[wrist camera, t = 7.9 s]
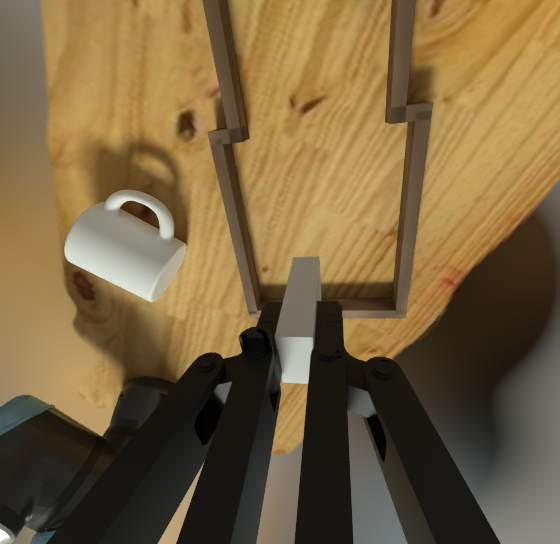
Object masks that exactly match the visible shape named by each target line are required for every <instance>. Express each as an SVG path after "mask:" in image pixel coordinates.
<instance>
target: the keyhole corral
mask: <svg viewBox="0 0 560 544" xmlns="http://www.w3.org/2000/svg"><path fill="white" fill-rule="evenodd" d="M415 1H416V0H392V7H391V25H390V43H389V61H388V79H387V97H386V115H385V122H386V123H389V124H395V123H403V122H408V129H407V140H406V151H405V162H404V172H403V183H402V194H401V205H400V216H399V227H398V238H397V249H396V260H395V271H394V281H393V292H392V298H335V299H321V301H338V302H339V304H340V305H341V307H342V317H343V318H406V311H407V303H408V295H409V288H410V280H411V272H412V264H413V256H414V248H415V240H416V233H417V225H418V217H419V209H420V201H421V193H422V185H423V177H424V170H425V162H426V154H427V146H428V138H429V130H430V122H431V115H432V107H433V102H419V103H411V104H407V93H408V82H409V70H410V59H411V47H412V36H413V24H414V13H415ZM203 5H204V10H205V15H206V21H207V26H208V31H209V36H210V41H211V46H212V51H213V56H214V62H215V67H216V72H217V77H218V82H219V87H220V92H221V97H222V103H223V108H224V113H225V118H226V123H227V128H223V129H216V130H213V131H209V132H208V137H209V141H210V145H211V150H212V154H213V158H214V163H215V167H216V172H217V176H218V180H219V185H220V189H221V193H222V198H223V202H224V207H225V211H226V215H227V220H228V224H229V229H230V233H231V237H232V242H233V246H234V250H235V255H236V259H237V264H238V268H239V272H240V277H241V281H242V285H243V290H244V294H245V299H246V303H247V307H248V312H249V316H250V318H259V317H260V314H261V311H262V308H263V307H264V306H265V305H266V304H267V303H268V302H283V299H261V296H260V291H259V286H258V281H257V275H256V270H255V265H254V260H253V255H252V250H251V245H250V239H249V234H248V229H247V224H246V219H245V214H244V209H243V203H242V198H241V193H240V188H239V183H238V178H237V173H236V167H235V162H234V157H233V152H232V147H231V143H238V142H244V141H246V140H247V139H249V135H248V128H247V122H246V116H245V110H244V104H243V98H242V92H241V86H240V79H239V73H238V67H237V61H236V55H235V49H234V43H233V37H232V30H231V24H230V18H229V12H228V6H227V0H203Z"/></svg>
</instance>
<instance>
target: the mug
mask: <svg viewBox="0 0 560 544" xmlns="http://www.w3.org/2000/svg"><path fill="white" fill-rule="evenodd" d="M126 201H136V202H139V203H141V204H144V205H146V206H148V207H149V208H151V209H152V210H153V211H154V212H155V214H156V215H157V217H158V220H159V225H160V230H159V229H158V228H156V227H154V226H152V225H150V224H148V223H146V222H144V221H143V220H141V219H139V218H137V217H135V216H133V215H131V214H129V213H127V212H126V211H124V210H122V209H120V207H121V206H122V204H123V203H124V202H126ZM186 248H187V246H186V244H185V243H184V242H182V241H180V240H178V239H176V238H175V237H174V221H173V218H172V215H171V213H170V211H169V210H168V209H167V207H166V206H165V205H164V204H163V203H162V202H160V201H159V200H157V199H156V198H154V197H152V196H150V195H148V194H146V193H143V192H140V191H135V190H120V191H117V192H115V193H113V194H112V195H110V196H109V197H108V199H107V200H106V202H100V203H97V204H95V205H93V206H91V207H90V208H88V209H87V210H86V211H85V212H83V213H82V214H81V215H80V217H79V218H78V219H77V220H76V222H75V223H74V224H73V226H72V228H71V229H70V231H69V233H68V236H67V238H66V242H65V247H64V253H65V257H66V259H67V260H68V261H69V262H70V263H72V264H74V265H76V266H79V267H81V268H83V269H85V270H87V271H89V272H91V273H93V274H95V275H97V276H99V277H101V278H103V279H105V280H107V281H109V282H111V283H113V284H115V285H117V286H119V287H121V288H123V289H125V290H127V291H129V292H131V293H133V294H135V295H137V296H140V297H142V298H144V299H146V300H148V301H150V302H153V301H155V300H157V299H158V298H159V297H160V296H161V295H162V294H163V293H164V291H165V290H166V289H167V287H168V286H169V284H170V283H171V281H172V280H173V278H174V276H175V275H176V273H177V271H178V269H179V267H180V265H181V263H182V261H183V259H184V256H185V253H186Z"/></svg>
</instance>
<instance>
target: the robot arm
mask: <svg viewBox="0 0 560 544" xmlns="http://www.w3.org/2000/svg"><path fill="white" fill-rule="evenodd" d="M239 341H240V345H241V348H242V353H241V354H239V355H237V356H233V357H229V358H225V359H223V358H222V356H221V355H220V354H218V353H212V352H210V353H206V354H203V355H201V356H199V357H198V358H197V359H196V360H195V361H194V362H193V363H192V364H191V366H190V367H189V368H188V369H187V371H186V372H185V373H184V374H183V375H182V377H181V378H180V379H179V380H178V382H177V383H176V384H173V383H171V382H169V381H166V380H163V379H160V378H156V377H147V376H144V377H137V378H133V379H131V380H130V381H129V382H128V383H127V384H126V385H125V387H124V388H123V389H122V391H121V392H120V394H119V397H118V401H117V404H116V407H115V410H114V413H113V416H112V419H111V422H110V426H109V427H108V429H107V430H106V432H105V433H104V435H103V436H99V435H98V434H97V433H95V432H94V431H92V430H90V429H88V428H87V427H85V426H84V425H82V424H80V423H79V422H77V421H75V420H74V419H72V418H71V417H69V416H67V415H66V414H64V413H63V412H61V411H60V410H58V409H56V408H55V406H54V405H49V404H47V403H45V402H43V401H41V400H39V399H38V398H36V397H34V396H31V395H21V396H17V397H15V398H13V399H11V400H10V401H8V402H7V403H5V404H4V405H3V406H1V407H0V544H11V543H12V542H13V541H14V539H15V538H16V537H17V535H18V534H19V532H20V531H21V530H22V528H23V527H24V526H25V527H28V528H30V529H33V530H35V531H36V532H37V533H36V534H35V535H34V536H33V537H32V541H31V543H30V544H158V542H159V540H160V538H161V537H162V535H163V533H164V531H165V530H166V528H167V526H168V524H169V522H170V521H171V519H172V517H173V516H174V514H175V512H176V510H177V508H178V507H179V505H180V503H181V502H182V500H183V498H184V496H185V495H186V493H187V491H188V489H189V487H190V486H191V484H192V482H193V481H194V479H195V477H196V475H197V473H198V472H199V470H200V468H201V466H202V465H203V463H204V465H203V468H202V471H201V474H200V476H199V480H198V482H197V485H196V488H195V491H194V494H193V497H192V499H191V502H190V505H189V508H188V511H187V514H186V517H185V520H184V523H183V526H182V528H181V531H180V534H179V537H178V540H177V543H176V544H256V540H257V535H258V529H259V523H260V517H261V511H262V505H263V499H264V492H265V487H266V481H267V475H268V469H269V463H270V457H271V451H272V445H273V439H274V433H275V427H276V421H277V415H278V409H279V403H280V397H281V387H280V381H281V376H282V381H283V382H284V383H304V384H308V392H307V404H306V415H305V427H304V439H303V450H302V462H301V474H300V485H299V497H298V509H297V521H296V532H295V544H353V528H352V527H353V526H352V506H351V482H350V461H349V441H348V440H349V439H348V417H347V410H349V411H351V412H354V413H357V414H359V415H362V416H363V419H364V422H365V425H366V427H367V430H368V433H369V435H370V439H371V441H372V444H373V447H374V450H375V452H376V456H377V458H378V461H379V464H380V467H381V470H382V472H383V475H384V478H385V481H386V483H387V487H388V489H389V492H390V495H391V498H392V501H393V503H394V506H395V509H396V512H397V515H398V518H399V520H400V523H401V526H402V529H403V532H404V534H405V537H406V540H407V543H408V544H500V542H499V540H498V538H497V537H496V535H495V533H494V531H493V530H492V528H491V526H490V524H489V522H488V521H487V519H486V517H485V515H484V514H483V512H482V510H481V508H480V507H479V505H478V503H477V501H476V500H475V498H474V496H473V494H472V492H471V491H470V489H469V487H468V486H467V484H466V482H465V480H464V478H463V477H462V475H461V474H460V471H459V470H458V468H457V466H456V464H455V463H454V461H453V459H452V457H451V456H450V454H449V452H448V450H447V448H446V447H445V445H444V443H443V441H442V440H441V438H440V436H439V434H438V433H437V431H436V429H435V427H434V426H433V424H432V422H431V420H430V418H429V417H428V415H427V413H426V411H425V410H424V408H423V406H422V404H421V403H420V401H419V399H418V397H417V396H416V394H415V392H414V390H413V389H412V387H411V385H410V383H409V381H408V380H407V378H406V376H405V374H404V373H403V371H402V369H401V368H400V366H399V365H398V364H397V363H396V362H395V361H393V360H391V359H389V358H386V357H374V358H371V359H369V360H368V361H367V362H365V361H362V360H359V359H356V358H354V357H352V356H351V355H350V354H349V353H348V352H347V351H346V350H345V347H344V338H343V317H342V307H341V305H340V304H339V302H338V301H321V279H320V262H319V256H318V257H293V261H292V266H291V270H290V274H289V278H288V283H287V287H286V291H285V295H284V299H283V302H268V303H267V304H266V305H265V306H264V307H263V308H262V311H261V314H260V317H259V320H258V323H257V326H256V327H251V328H249V329H246V330H245V331H243V332H242V333H241V334H240V336H239ZM204 461H205V462H204Z"/></svg>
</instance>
